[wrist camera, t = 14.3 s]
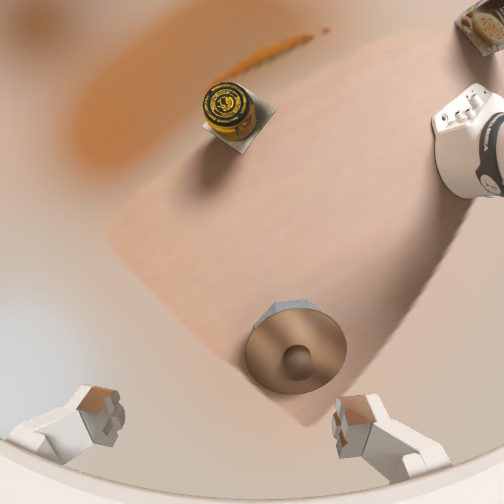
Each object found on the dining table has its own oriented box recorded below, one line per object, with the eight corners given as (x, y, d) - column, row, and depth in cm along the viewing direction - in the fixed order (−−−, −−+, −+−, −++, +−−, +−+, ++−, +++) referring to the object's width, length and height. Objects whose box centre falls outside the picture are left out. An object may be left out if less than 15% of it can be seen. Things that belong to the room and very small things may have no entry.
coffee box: (452, 22, 35) (498, -9, 20) (464, 10, 34) (507, -19, 19) (483, 58, 37) (535, 37, 21) (493, 45, 35) (541, 24, 20)
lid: (292, 287, 42) (295, 299, 37) (364, 343, 44) (373, 358, 39) (225, 359, 45) (222, 375, 40) (298, 404, 47) (301, 421, 42)
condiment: (202, 127, 43) (182, 111, 31) (236, 83, 41) (228, 53, 29) (242, 154, 44) (236, 146, 32) (276, 109, 42) (282, 86, 30)
